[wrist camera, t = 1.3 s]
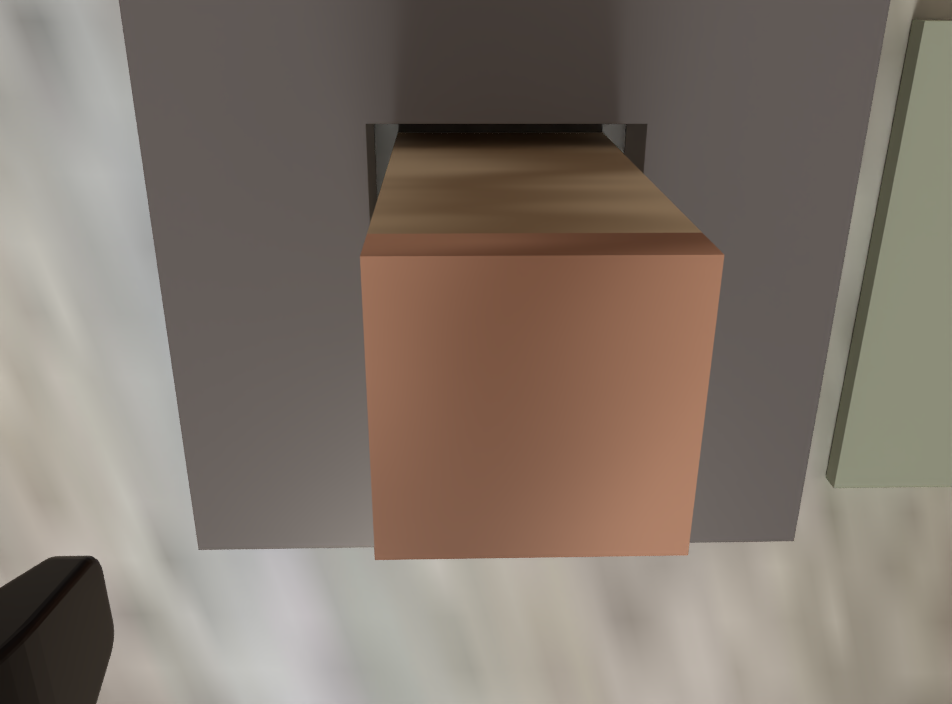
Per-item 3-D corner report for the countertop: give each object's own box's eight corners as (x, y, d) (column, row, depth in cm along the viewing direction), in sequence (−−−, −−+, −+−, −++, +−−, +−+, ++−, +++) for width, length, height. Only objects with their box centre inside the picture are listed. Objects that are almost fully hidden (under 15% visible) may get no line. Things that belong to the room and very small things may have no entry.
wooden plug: (602, 132, 19) (724, 254, 11) (591, 322, 21) (687, 554, 12) (398, 132, 19) (359, 256, 10) (403, 324, 20) (374, 559, 12)
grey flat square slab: (862, -118, 17) (913, -129, 15) (765, 494, 23) (793, 541, 21) (137, -124, 17) (98, -137, 15) (219, 502, 22) (198, 549, 20)
